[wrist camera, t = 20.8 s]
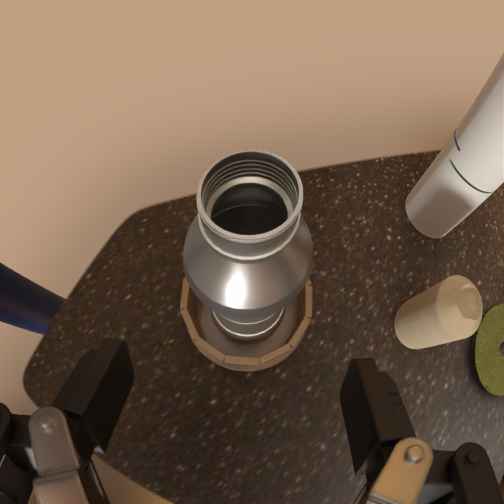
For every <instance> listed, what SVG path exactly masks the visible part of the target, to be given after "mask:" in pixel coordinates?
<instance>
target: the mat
mask: <svg viewBox="0 0 504 504" xmlns="http://www.w3.org/2000/svg"><path fill="white" fill-rule="evenodd" d="M475 360H476V361H475V363H476V367H477V368H476V369H477V372H478V376H479V379H480V381H481V383H482V384H483V386H484V387H485V389H486V390H488V392H490V393H492V394H494V395H499V396H500V395H501V396H502V395H504V305H497V306H495V307H493V308H491V309H490V310H489V311H488V312H487V313H486V315H485V317H484V318H483V320H482V322H481V324H480V327H479V328H478V333H477V336H476V344H475Z"/></svg>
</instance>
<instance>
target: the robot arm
mask: <svg viewBox="0 0 504 504" xmlns="http://www.w3.org/2000/svg"><path fill="white" fill-rule="evenodd" d="M133 380H134V371H133V367H132V363H131V359H130V354H129V350H128V346H127V343H126V342H125V341H120V340H115V339H109V338H106V339H104V340H103V342H102V343H101V345H100V347H99V348H98V350H94V349H92V350H90V351H89V352H88V353H86V354H85V355H84V356H82V358H81V359H80V361H79V362H78V364H77V365H76V369H74V370H73V372H72V373H71V376H70V377H69V378H68V379H67V381H66V383H65V384H64V386H63V388H62V389H61V391H60V392H59V394H58V396H57V397H56V399H55V401H54V402H53V404H52V405H51V407H43V408H40V409H38V410H36V411H35V412H34V413H33V414H32V415H31V416H30V415H18V414H11V412H10V411H9V409H8V408H7V406H6V405H4V404H3V403H0V462H1V459H2V458H3V455H4V454H5V455H6V456H5V458H4V460H3V463H2V465H1V467H0V504H28V501H29V498H30V495H31V492H32V489H33V487H34V491H35V495H36V499H37V503H38V504H110V502H109V500H108V498H107V495H106V493H105V491H104V489H103V486H102V484H101V481H100V479H99V476H98V474H97V472H96V469H95V466H94V464H93V461H92V459H91V456H92V454H93V452H94V451H97V452H100V453H105V451H106V448H107V446H108V443H109V441H110V438H111V436H112V433H113V431H114V428H115V426H116V423H117V421H118V419H119V416H120V414H121V411H122V409H123V407H124V404H125V402H126V399H127V397H128V395H129V392H130V390H131V388H132V385H133ZM340 403H341V407H342V412H343V417H344V421H345V426H346V431H347V435H348V440H349V445H350V450H351V455H352V461H353V466H354V471H355V476H359V475H366V478H367V482H366V484H365V485H364V487H363V488H362V490H361V492H360V493H359V495H358V496H357V498H356V499H355V501H354V502H353V504H504V501H503V498H502V494H501V491H500V488H499V485H498V482H497V479H496V476H495V474H494V471H493V468H492V465H491V463H490V460H489V458H488V455H487V453H486V451H485V449H484V448H483V447H482V446H480V445H479V444H476V443H472V442H468V443H464V444H462V445H461V446H460V447H459V448H458V449H457V450H456V451H440V450H433V449H431V447H430V446H429V444H427V443H426V442H425V441H424V440H422V439H419V438H417V437H416V435H415V432H414V430H413V427H412V424H411V422H410V419H409V417H408V414H407V411H406V409H405V406H404V404H402V399H401V396H400V395H399V391H398V389H397V386H396V384H395V382H394V380H393V379H392V378H391V377H390V376H389V375H388V374H387V373H386V372H379V371H378V369H377V366H376V363H375V361H374V360H373V359H372V358H370V359H352V360H351V362H350V364H349V367H348V370H347V373H346V376H345V379H344V382H343V384H342V387H341V392H340Z"/></svg>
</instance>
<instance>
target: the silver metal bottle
mask: <svg viewBox="0 0 504 504" xmlns="http://www.w3.org/2000/svg"><path fill="white" fill-rule="evenodd" d="M302 202H303V186H302V183H301V180H300V177H299V175H298V173H297V172H296V170H295V169H294V168H293V166H292V165H291V164H290V163H289V162H287V161H286V160H285V159H284V158H282V157H280V156H278V155H276V154H274V153H271V152H269V151H265V150H258V149H245V150H238V151H234V152H231V153H228V154H226V155H224V156H222V157H220V158H219V159H217V160H216V161H215V162H213V163H212V164H211V165H210V166H209V167H208V168H207V169H206V171H205V172H204V174H203V176H202V177H201V179H200V182H199V185H198V190H197V208H198V214H197V216H196V217H195V218H194V220H193V222H192V224H191V225H190V227H189V230H188V233H187V236H186V239H185V244H184V251H183V266H184V272H185V275H186V278H187V282H188V283H189V285H190V287H191V289H192V290H193V292H194V293H195V295H196V296H197V297H198V298H199V299H200V300H201V301H202V302H203V303H204V304H205V305H206V306H208V307H209V308H210V310H211V316H212V319H213V322H214V323H215V325H216V327H217V328H218V329H219V330H220V331H221V332H222V334H224V335H225V336H227V337H228V338H230V339H232V340H235V341H239V342H256V341H259V340H262V339H264V338H266V337H268V336H269V335H271V334H272V333H273V332H274V331H275V330H276V329H277V328H278V327H279V325H280V324H281V322H282V320H283V318H284V315H285V311H286V306H287V305H288V304H289V303H290V302H291V301H292V300H293V299H294V298H295V297H296V296H297V295H298V294H299V293H300V292H301V290H302V289H303V287H304V285H305V284H306V282H307V280H308V277H309V275H310V272H311V269H312V263H313V244H312V240H311V236H310V232H309V228H308V226H307V224H306V222H305V220H304V218H303V216H302V215H301V214H300V211H301V208H302Z"/></svg>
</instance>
